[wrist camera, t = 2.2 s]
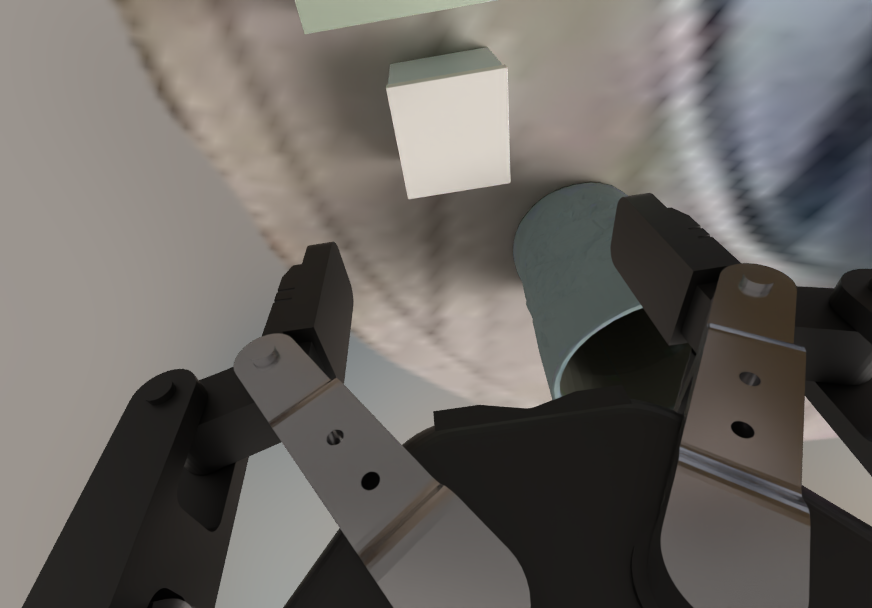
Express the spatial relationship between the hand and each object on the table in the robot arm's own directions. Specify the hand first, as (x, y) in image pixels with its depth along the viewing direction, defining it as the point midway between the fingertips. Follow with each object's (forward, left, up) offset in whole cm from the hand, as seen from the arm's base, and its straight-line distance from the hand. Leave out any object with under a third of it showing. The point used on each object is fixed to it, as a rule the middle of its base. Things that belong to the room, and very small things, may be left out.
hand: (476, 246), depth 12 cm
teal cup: (-8, +10, -14) cm, 19 cm away
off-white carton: (0, 0, -14) cm, 14 cm away
